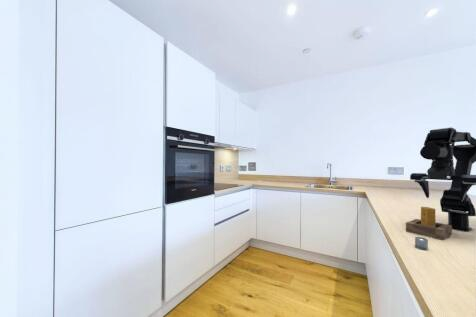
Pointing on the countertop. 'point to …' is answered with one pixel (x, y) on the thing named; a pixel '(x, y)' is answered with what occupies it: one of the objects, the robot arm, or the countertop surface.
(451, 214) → the robot arm
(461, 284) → the countertop surface
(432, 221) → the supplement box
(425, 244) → the short metal stub
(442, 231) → the hole block
